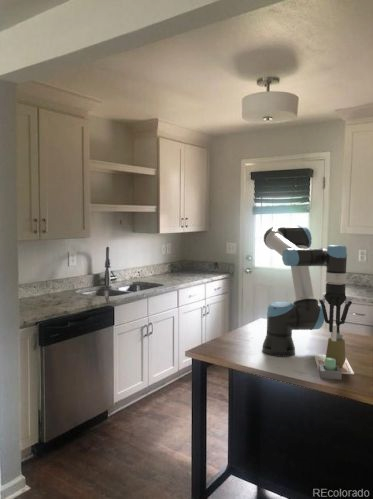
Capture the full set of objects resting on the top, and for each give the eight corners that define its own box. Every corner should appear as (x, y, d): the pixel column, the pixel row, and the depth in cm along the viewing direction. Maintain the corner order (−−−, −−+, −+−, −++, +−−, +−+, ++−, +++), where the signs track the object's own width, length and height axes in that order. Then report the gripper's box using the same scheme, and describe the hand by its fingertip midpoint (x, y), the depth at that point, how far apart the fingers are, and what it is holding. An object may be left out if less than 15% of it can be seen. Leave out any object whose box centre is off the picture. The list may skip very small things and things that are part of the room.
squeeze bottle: (341, 363, 185) (343, 322, 184) (348, 369, 177) (350, 327, 176) (322, 362, 185) (324, 322, 183) (329, 369, 177) (331, 327, 175)
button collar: (320, 377, 169) (320, 370, 169) (318, 370, 177) (318, 363, 177) (341, 379, 168) (341, 372, 168) (338, 372, 176) (338, 365, 175)
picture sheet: (318, 371, 176) (318, 370, 176) (313, 355, 197) (313, 353, 197) (354, 374, 174) (354, 373, 173) (345, 357, 194) (345, 356, 194)
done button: (325, 372, 171) (325, 360, 170) (323, 369, 175) (324, 357, 174) (336, 373, 170) (336, 361, 170) (334, 369, 174) (335, 358, 174)
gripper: (320, 283, 169) (318, 341, 171) (354, 285, 167) (352, 343, 168) (317, 281, 177) (316, 336, 178) (350, 282, 174) (348, 338, 176)
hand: (333, 340), depth 173 cm, fingers closed
